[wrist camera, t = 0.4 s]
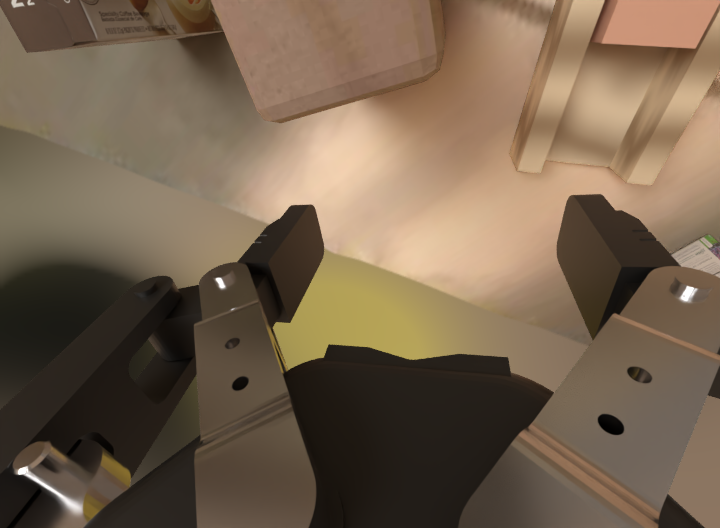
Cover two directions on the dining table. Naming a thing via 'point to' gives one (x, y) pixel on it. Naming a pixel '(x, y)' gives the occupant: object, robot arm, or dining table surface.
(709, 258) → the syrup box
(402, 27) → the wooden block
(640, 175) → the chute
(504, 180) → the dining table surface
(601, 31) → the block
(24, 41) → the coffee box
